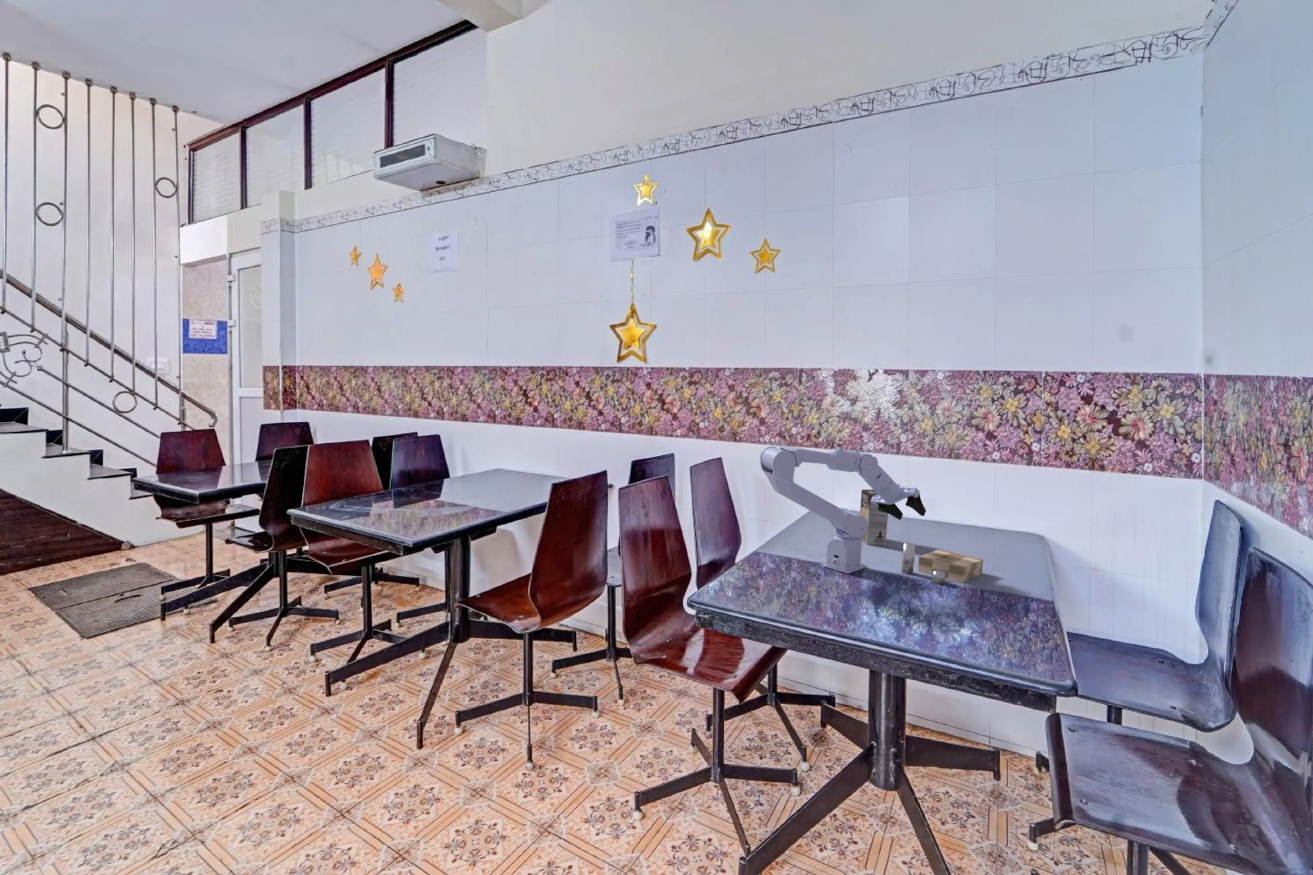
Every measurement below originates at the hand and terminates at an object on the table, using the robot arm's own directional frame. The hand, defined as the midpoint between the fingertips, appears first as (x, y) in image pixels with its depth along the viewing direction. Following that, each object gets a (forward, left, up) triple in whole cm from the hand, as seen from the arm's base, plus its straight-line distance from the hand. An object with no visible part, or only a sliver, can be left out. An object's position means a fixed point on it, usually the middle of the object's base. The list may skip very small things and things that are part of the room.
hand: (912, 515), depth 177 cm
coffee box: (+12, +19, -14) cm, 27 cm away
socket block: (+1, -11, -14) cm, 18 cm away
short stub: (-10, -13, -14) cm, 21 cm away
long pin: (-9, -4, -14) cm, 17 cm away
